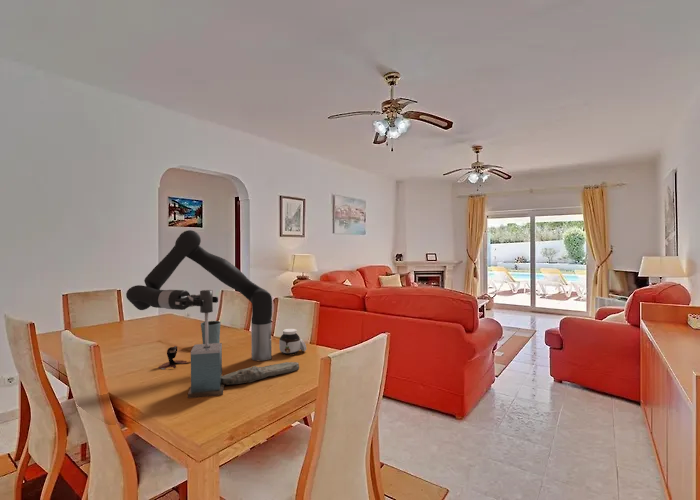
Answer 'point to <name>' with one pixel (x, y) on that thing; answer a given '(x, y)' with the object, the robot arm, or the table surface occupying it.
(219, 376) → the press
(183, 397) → the table surface
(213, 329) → the drinking glass
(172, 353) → the dark brown curved piece
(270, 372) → the long grey stone
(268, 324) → the robot arm
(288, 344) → the spread jar
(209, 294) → the lever
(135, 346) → the table surface
